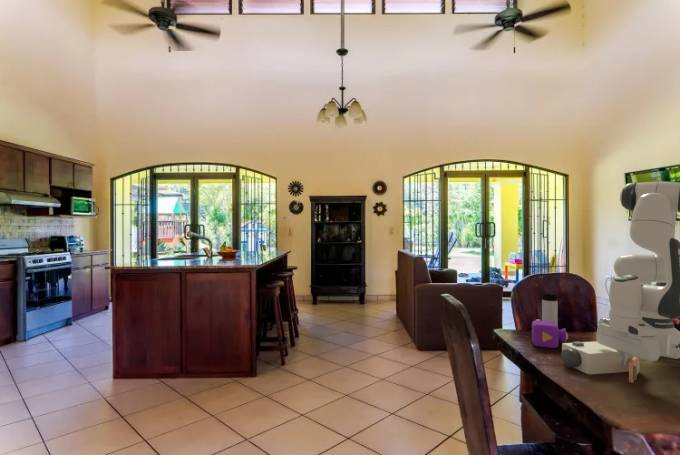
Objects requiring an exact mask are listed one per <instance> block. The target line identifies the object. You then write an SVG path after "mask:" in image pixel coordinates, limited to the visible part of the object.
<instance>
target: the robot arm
mask: <svg viewBox="0 0 680 455" xmlns="http://www.w3.org/2000/svg"><path fill="white" fill-rule="evenodd" d="M619 200H620V203H621V206H622V207H623V208H624V209H626V210H629V211H632V215H631V218H630V219H631V220H630V226H629V236H630V238H631V241H633V243H634V244H635V245H637V246H638V247H640V248H643V249H645V250H647V251H650V252H652V253H655V254H625V255H619V256H618V257H617V258H616V259H615V260H614V262H613V271H614V273H615V275H614V276H613V277H612V278H611V280H610V284H609V290H608V292H609V293H608V296H609V297H608V300H609V302H608V303H609V305H610V308H609V313H608V318H605V317H602V318H600V319H599V320H598V326H597V329H596V338H595V340H596V341H597V342H598V343H599V344H601V345H604V346H607V347H610V348H612V349H615V350H617V355H618V357H619V359H620V364H621V365H624V366H626V367H629V362H630V361H631V359H633V357H637V358H639V360H643V361H646V362H657V361H658V360H659V359H660V357H663V358H671V359H675V360H676V359H677V360H679V359H680V331H679V330H678V329H677V328H675V324H676V325H679V324H680V241H679V240H678V239H676V234H675V233H676V224H677V223H676V222H677V212H678V213H680V182H676V181H647V182H646V181H645V182H629V183H626V184H625V185H624V186H623V187H622V189H621V191H620V195H619ZM652 283H663V284H664V283H665V285H661V286H660V285H657V284H655V285H654V284H652ZM625 356H626V357H625Z"/></svg>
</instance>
